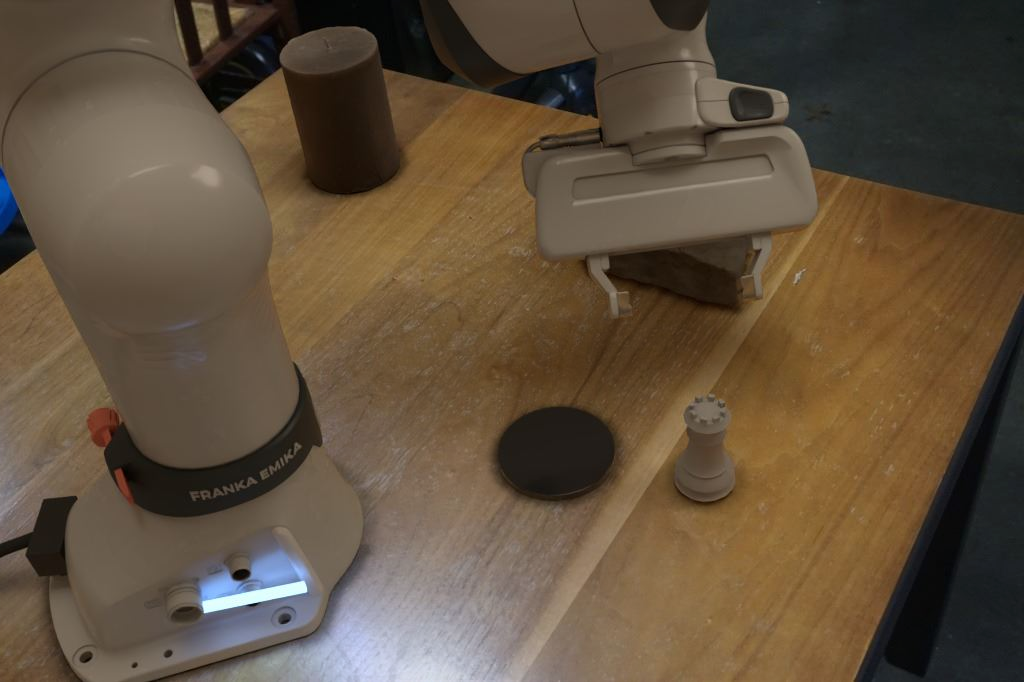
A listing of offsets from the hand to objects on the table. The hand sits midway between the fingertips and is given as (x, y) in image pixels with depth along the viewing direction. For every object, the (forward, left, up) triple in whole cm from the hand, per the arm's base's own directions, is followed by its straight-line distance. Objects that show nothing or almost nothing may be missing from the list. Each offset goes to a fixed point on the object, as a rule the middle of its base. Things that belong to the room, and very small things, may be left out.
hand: (686, 309), depth 79 cm
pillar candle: (-10, +47, -11) cm, 49 cm away
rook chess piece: (-3, -7, -11) cm, 13 cm away
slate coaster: (-11, +1, -11) cm, 15 cm away
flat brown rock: (+10, +18, -11) cm, 23 cm away
